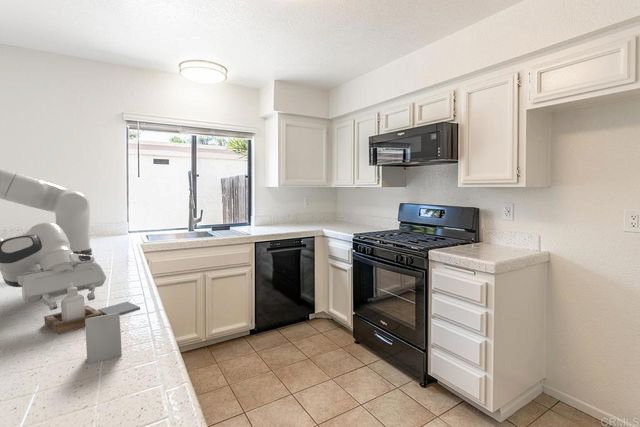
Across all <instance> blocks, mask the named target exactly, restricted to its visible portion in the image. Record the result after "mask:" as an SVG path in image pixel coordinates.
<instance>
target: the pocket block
mask: <svg viewBox="0 0 640 427" xmlns="http://www.w3.org/2000/svg"><path fill="white" fill-rule="evenodd" d="M97 316H103V314H102V313H101V312H99V311H98V309H95V308H94V307H91V306H90V305H85V316H84V317H80V318H76V319H73V320H69V321H65V322H62V313H61V312H60V311H59V312H56V313H52V314H49V315H45V316H44V317H43V318H44V325H45V326H46V327H47V328H48V329H50V330H51V331H52V332H54V333H56V335H60V334H64V333H68V332H71V331H74V330H76V329H81V328H83V327H84V328H85V319H87V318H92V317H97Z"/></svg>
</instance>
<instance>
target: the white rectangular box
mask: <svg viewBox="0 0 640 427" xmlns="http://www.w3.org/2000/svg"><path fill="white" fill-rule="evenodd" d="M84 328H85V344H86V345H85V346H86V360H87V363H86V364H87V365H89V364H93V363H97V362H100V361H105V360H110V359H113V358H116V357H121V356H123V351H122V333H121V330H122V329H121V320H120V315H119V313H113V314H108V315H104V314H102V316H97V317H92V318H87V319H85V326H84Z"/></svg>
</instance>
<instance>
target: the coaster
mask: <svg viewBox="0 0 640 427" xmlns="http://www.w3.org/2000/svg"><path fill="white" fill-rule="evenodd" d="M140 309H141V307H140V306H139V305H136V304H134V303H132V302H130V301H124V302H121V303H117V304H114V305H113V304H112V305H109V306H106V307H103V308H102V307H101V308H98V309H97V311H99V312H101V313H102V315H108V314H113V313H119V316H120V315H124V314H127V313H131V312H134V311H137V310H140Z"/></svg>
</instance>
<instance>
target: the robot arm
mask: <svg viewBox="0 0 640 427" xmlns="http://www.w3.org/2000/svg"><path fill="white" fill-rule="evenodd" d="M0 200H5V201H7V202H11V203H15V204H19V205H22V206H26V207H29V208H35V209H38V210H43V211H47V212H51V213H54V214H55V223H53V222H52V223H51V222H42V223H37V224H34V225H33V226H32V227H31V228H30V229H29V230H28V231H26V232H23V233H21V234H20V235H17V236H13V237H9V238H5V239H3V238H2V236H1V235H0V274H1V276H2V279H3V281H4V282H5V284H7V285H8V286H9V287H12V288H21V293H22V299H23V301H25V302H26V303H31V302H36V301H41V303H43V304H44V305H46V306H48V309H49V311H54V310H57V309H58V304H57V301H56V300H54V301H53V300H51V299H49V298H53V297H57V296H63V295H67V288H69V287H70V284H71V283H73V285H74V287H77V292H82V291H85V290H88V292H89V293H87V295H86V299H87V301H88V302H90V301H94V300H95V299H96V295H95V290H96V288H99V287H103V286H104V284H105V283H106V280H107V275H106V274H105V272H104V270H103V269H102V267H101V265H100V264H99V263H97V260H96V259H95V256H94V255H93V250H92V248H91V239H90V238H91V236H90V200H89V199H88V197H87V196H86V195H85V194H84V193H82V192H80V191H77V190H73V189H70V188H66V187H63V186H60V185H57V184H53V183H51V182H47V181H44V180H41V179H38V178H36V177H32V176H30V175H25V174H22V173H19V172H16V171H13V170H11V169H10V170H9V169H5V168H2V167H0Z"/></svg>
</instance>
